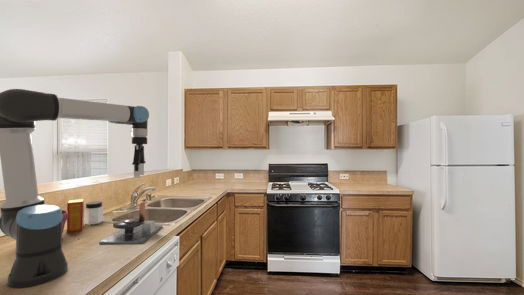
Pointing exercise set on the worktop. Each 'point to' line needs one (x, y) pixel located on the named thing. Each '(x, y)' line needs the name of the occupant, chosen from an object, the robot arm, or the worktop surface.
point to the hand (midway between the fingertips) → (139, 176)
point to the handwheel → (132, 220)
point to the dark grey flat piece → (133, 234)
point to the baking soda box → (75, 215)
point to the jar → (93, 213)
